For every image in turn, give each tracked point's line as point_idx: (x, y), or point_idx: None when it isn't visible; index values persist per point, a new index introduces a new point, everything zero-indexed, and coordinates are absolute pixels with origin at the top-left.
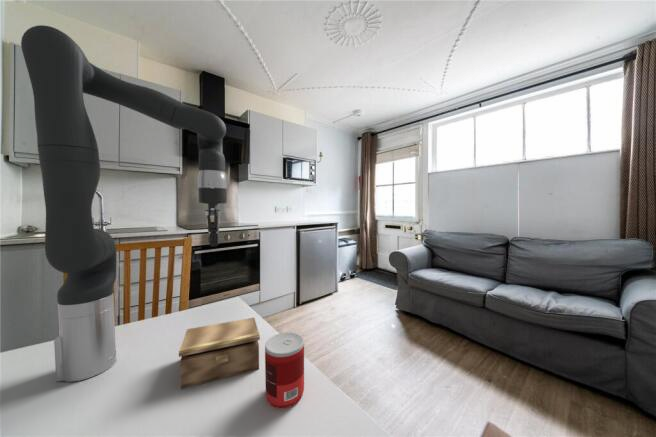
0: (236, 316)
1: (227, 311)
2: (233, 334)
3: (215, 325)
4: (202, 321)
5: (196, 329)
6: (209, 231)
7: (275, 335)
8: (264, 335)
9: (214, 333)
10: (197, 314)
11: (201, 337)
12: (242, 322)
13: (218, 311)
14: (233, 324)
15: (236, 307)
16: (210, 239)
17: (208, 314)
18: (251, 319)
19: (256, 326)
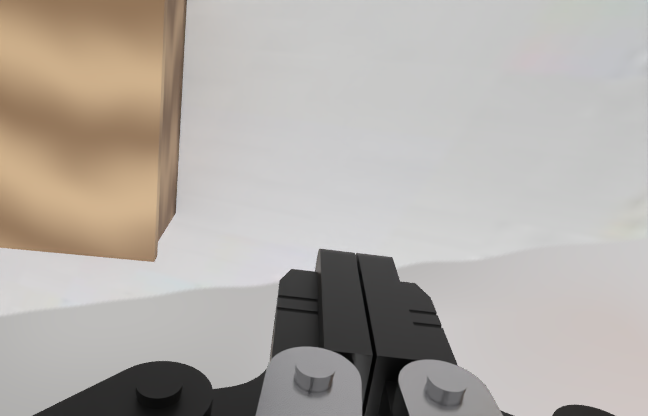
0: (455, 196)
1: (543, 167)
2: (2, 152)
3: (144, 91)
4: (500, 42)
5: (138, 2)
6: (129, 386)
7: None
8: (211, 260)
9: (50, 78)
10: (609, 23)
11: (29, 20)
12: (120, 206)
13: (574, 127)
14: (115, 167)
15: (563, 214)
16: (318, 303)
17: (569, 76)
18: (136, 246)
19: (45, 250)
